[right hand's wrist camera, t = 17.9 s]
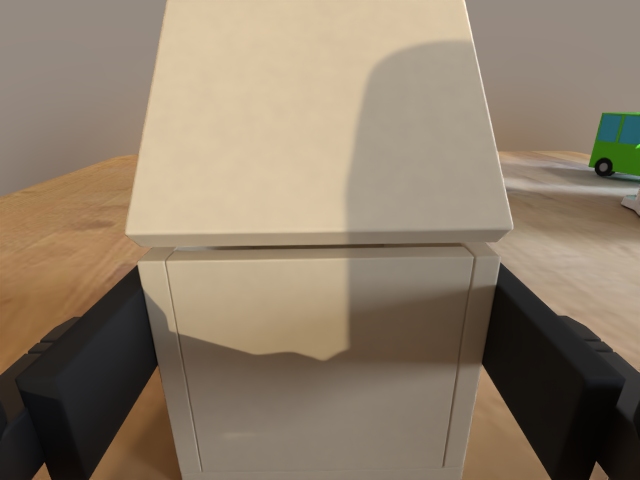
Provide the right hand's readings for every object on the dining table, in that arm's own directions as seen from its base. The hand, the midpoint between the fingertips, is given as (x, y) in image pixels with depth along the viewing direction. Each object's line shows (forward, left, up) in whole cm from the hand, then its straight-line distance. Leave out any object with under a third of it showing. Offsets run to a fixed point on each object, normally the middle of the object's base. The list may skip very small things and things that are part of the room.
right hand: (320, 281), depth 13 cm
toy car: (-40, -59, -7) cm, 71 cm away
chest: (+1, -4, -7) cm, 8 cm away
